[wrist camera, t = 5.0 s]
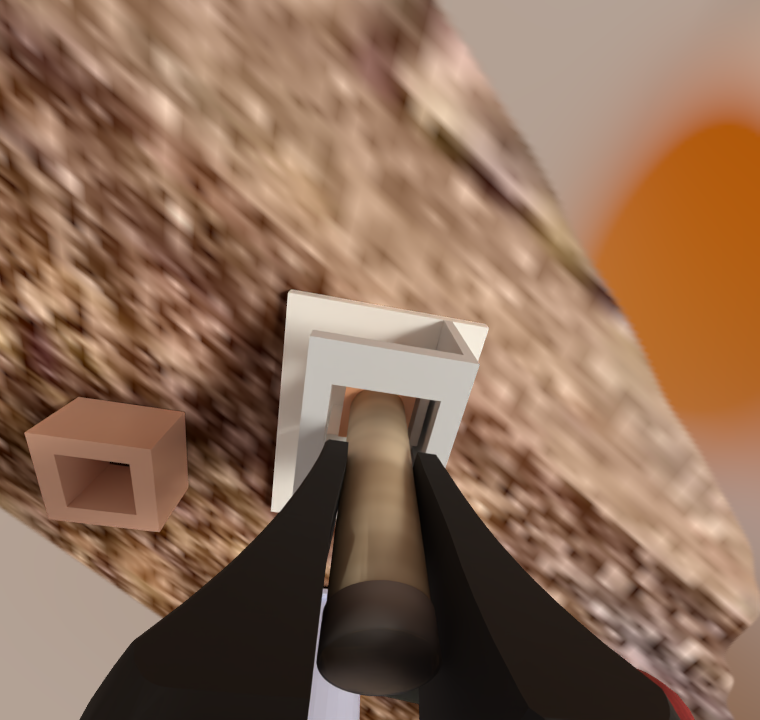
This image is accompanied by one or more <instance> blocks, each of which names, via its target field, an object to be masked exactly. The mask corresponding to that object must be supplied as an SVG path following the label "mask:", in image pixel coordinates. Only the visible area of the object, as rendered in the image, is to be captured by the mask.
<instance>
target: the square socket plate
mask: <svg viewBox="0 0 760 720" xmlns="http://www.w3.org/2000/svg"><path fill="white" fill-rule="evenodd" d="M488 329H489V327H488V326H487V325H486V324H484V323H478V322H473V321H467V320H461V319H456V318H450V317H444V316H439V315H433V314H428V313H422V312H416V311H411V310H405V309H399V308H394V307H388V306H383V305H377V304H371V303H366V302H360V301H354V300H349V299H343V298H338V297H332V296H326V295H321V294H315V293H309V292H304V291H298V290H293V289H291V290H290V291H289V292H288V300H287V313H286V326H285V339H284V351H283V364H282V377H281V390H280V402H279V415H278V428H277V441H276V454H275V466H274V479H273V492H272V505H271V511H272V512H280V511H281V509H282V508H283V507H284V506H285V504H286V503H287V502H288V501H289V499H290V498H291V497H292V496H293V494H294V493H295V492H296V490H297V489H298V488H299V486H300V485H301V484H302V482H303V481H304V479H305V478H306V476H307V475H308V473H309V472H310V470H311V469H312V467H313V465H314V464H315V462H316V460H317V459H318V457H319V455H320V453H321V451H322V449H323V446H324V443H325V442H326V441H327V440H329V439H331V440H338V441H345V442H346V439H347V437H340V436H338V434H339V427H340V421H341V415H342V409H343V403H344V397H345V391H346V387H352V388H359V389H365V390H371V391H378V392H384V393H391V394H397V395H403V396H410V397H416V400H415V404H414V408H413V412H412V415H411V419H410V423H409V427H408V438H409V445H410V452H411V459H412V467H413V465H414V462H415V458H416V455H417V452H422V453H429V454H436V455H437V457H438V458H439V460H440V461H441V463H442V464H443V466H444V467H446V464H447V461H448V458H449V455H450V452H451V449H452V446H453V443H454V440H455V437H456V434H457V431H458V428H459V425H460V422H461V419H462V416H463V413H464V410H465V407H466V404H467V401H468V398H469V395H470V392H471V389H472V386H473V383H474V380H475V377H476V374H477V371H478V368H479V365H480V364H479V362H478V360H479V357H480V354H481V351H482V348H483V345H484V342H485V339H486V335H487V332H488ZM337 512H338V511H337ZM336 519H337V517H336Z"/></svg>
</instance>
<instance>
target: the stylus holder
mask: <svg viewBox="0 0 760 720" xmlns="http://www.w3.org/2000/svg"><path fill="white" fill-rule="evenodd" d="M24 433H25V437H26V440H27V444H28V447H29V451H30V454H31V458H32V461H33V465H34V469H35V472H36V476H37V479H38V483H39V486H40V490H41V494H42V497H43V501H44V504H45V508H46V511H47V515H48V518H49V519H51V520H59V521H68V522H77V523H85V524H94V525H103V526H111V527H120V528H129V529H137V530H146V531H155V532H160V530H161V529H162V527H163V526H164V524H165V523H166V521H167V520H168V518H169V517H170V515H171V514H172V512H173V510H174V509H175V507H176V506H177V504H178V503H179V501H180V500H181V498H182V497H183V495H184V494H185V492H186V491H187V489H188V487H189V486H188V467H187V447H186V428H185V412H180V411H173V410H166V409H160V408H153V407H146V406H139V405H132V404H125V403H118V402H111V401H104V400H97V399H90V398H83V397H78V398H76V399H74V400H73V401H71V402H70V403H68V404H67V405H65V406H64V407H62V408H61V409H59V410H58V411H56V412H55V413H53V414H52V415H50V416H49V417H47V418H46V419H44V420H43V421H41V422H40V423H38V424H37V425H35V426H34V427H32V428H31V429H29V430H27V431H26V432H24ZM110 462H117V463H125V464H130V467H129V466H121V465H114V464H110Z"/></svg>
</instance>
